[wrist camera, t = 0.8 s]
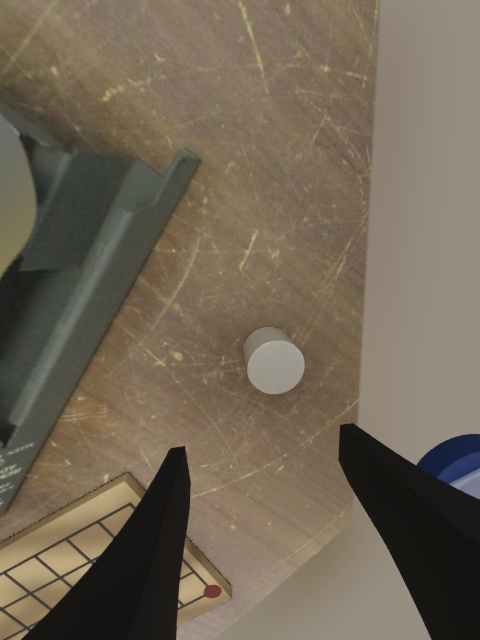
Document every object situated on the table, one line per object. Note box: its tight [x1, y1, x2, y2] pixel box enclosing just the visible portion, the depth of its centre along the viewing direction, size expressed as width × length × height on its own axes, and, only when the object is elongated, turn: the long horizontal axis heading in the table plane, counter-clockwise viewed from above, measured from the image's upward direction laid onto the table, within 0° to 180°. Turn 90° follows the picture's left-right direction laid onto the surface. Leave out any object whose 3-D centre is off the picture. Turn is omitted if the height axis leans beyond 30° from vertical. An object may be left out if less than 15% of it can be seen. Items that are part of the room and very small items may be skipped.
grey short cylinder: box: [243, 327, 305, 394], centre depth 19 cm, size 4×4×3 cm
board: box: [0, 472, 232, 640], centre depth 25 cm, size 18×24×1 cm
